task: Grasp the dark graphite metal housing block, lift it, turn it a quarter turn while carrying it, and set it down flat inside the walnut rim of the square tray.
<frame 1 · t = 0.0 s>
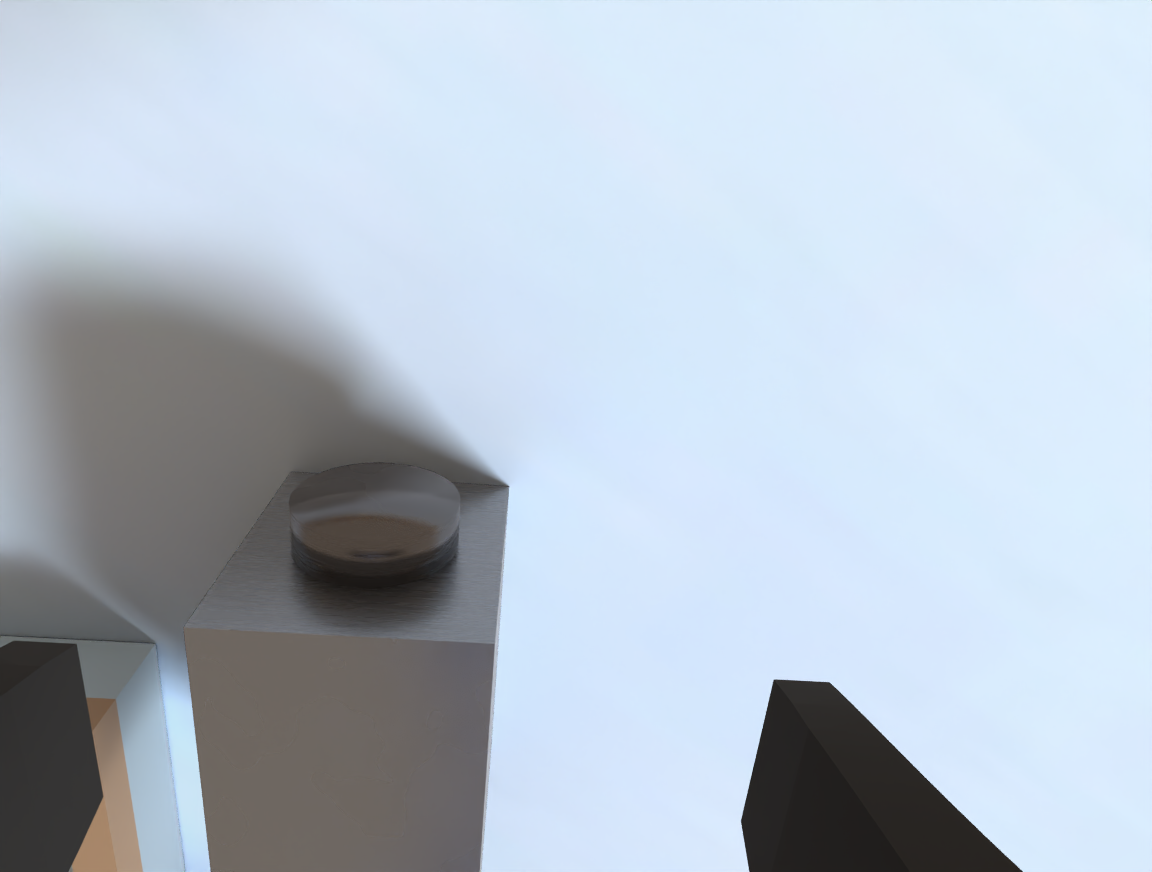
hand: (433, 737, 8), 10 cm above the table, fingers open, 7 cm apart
housing: (400, 620, 20), on the table
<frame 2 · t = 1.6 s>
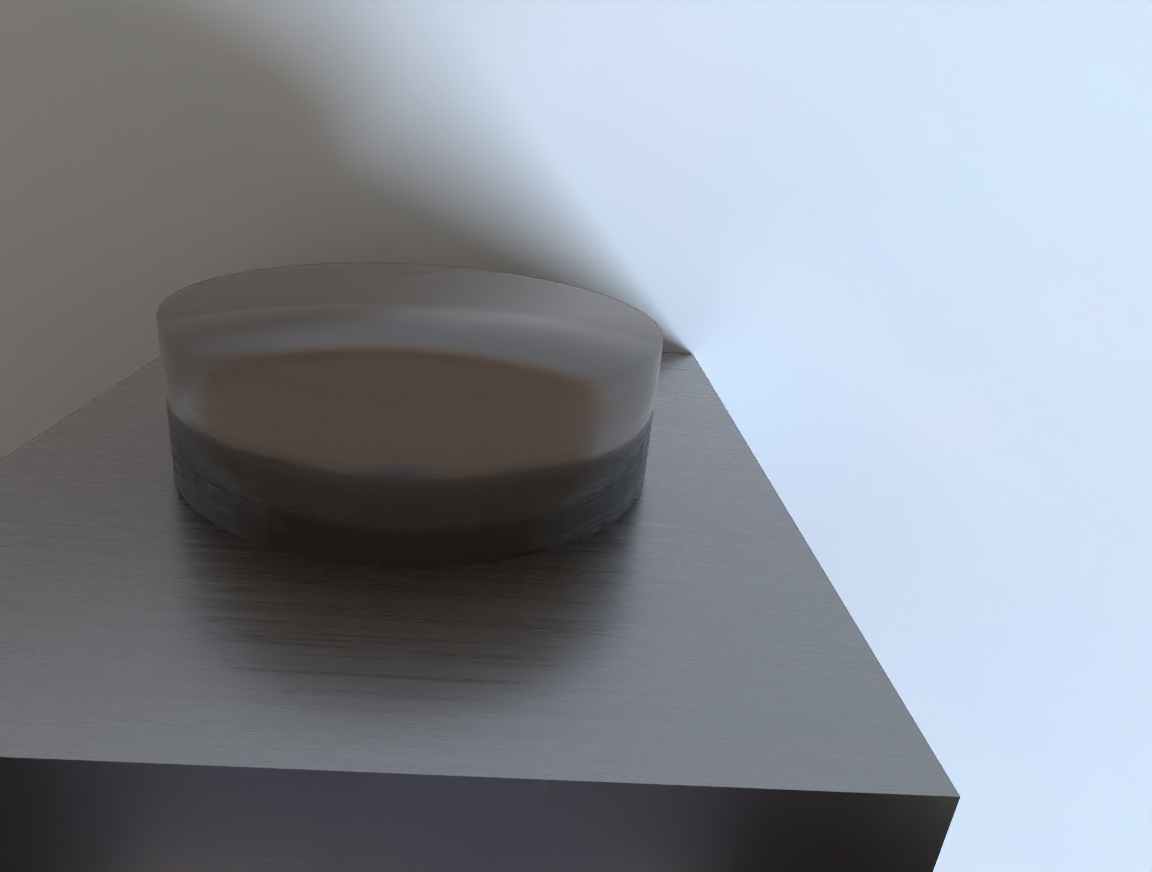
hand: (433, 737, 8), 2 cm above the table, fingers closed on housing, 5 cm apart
housing: (449, 644, 10), on the table, touching gripper
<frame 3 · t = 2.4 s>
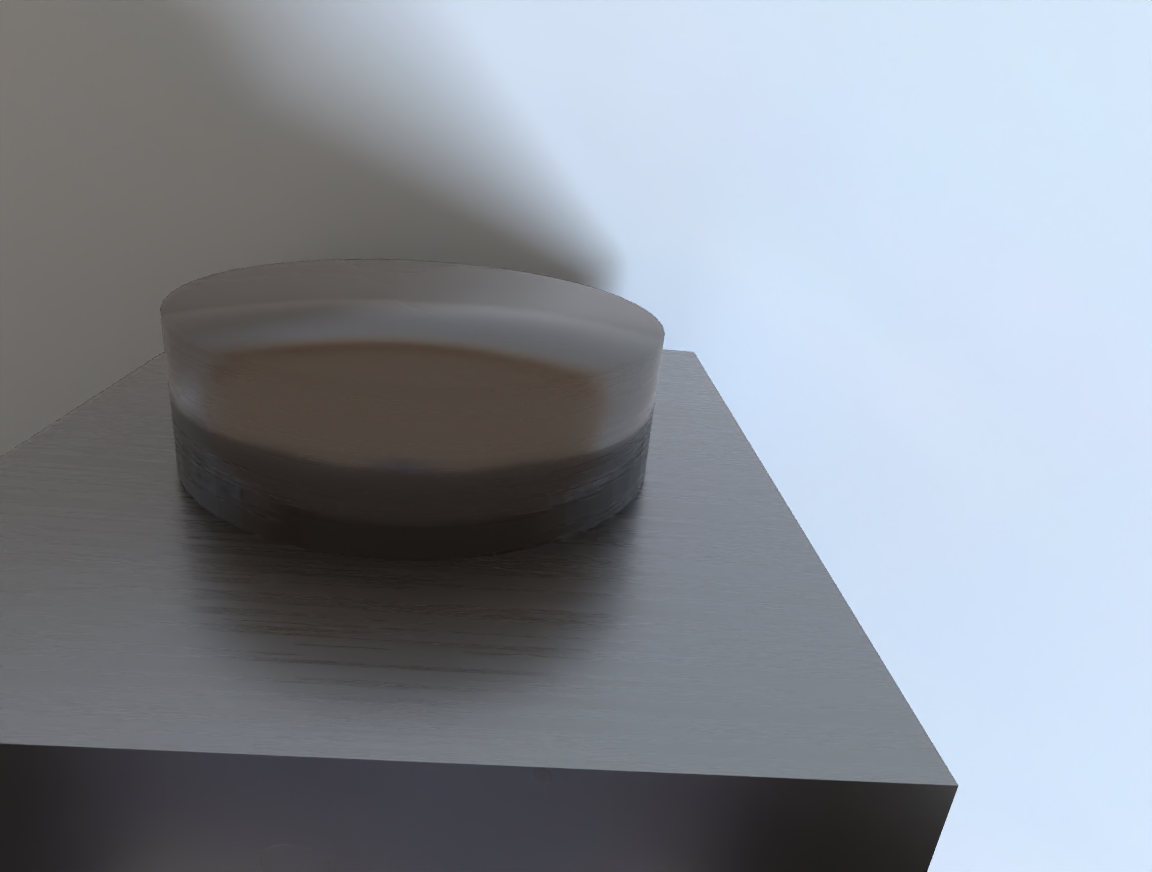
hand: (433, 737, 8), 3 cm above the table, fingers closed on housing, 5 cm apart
housing: (450, 641, 10), point 1 cm above the table, touching gripper
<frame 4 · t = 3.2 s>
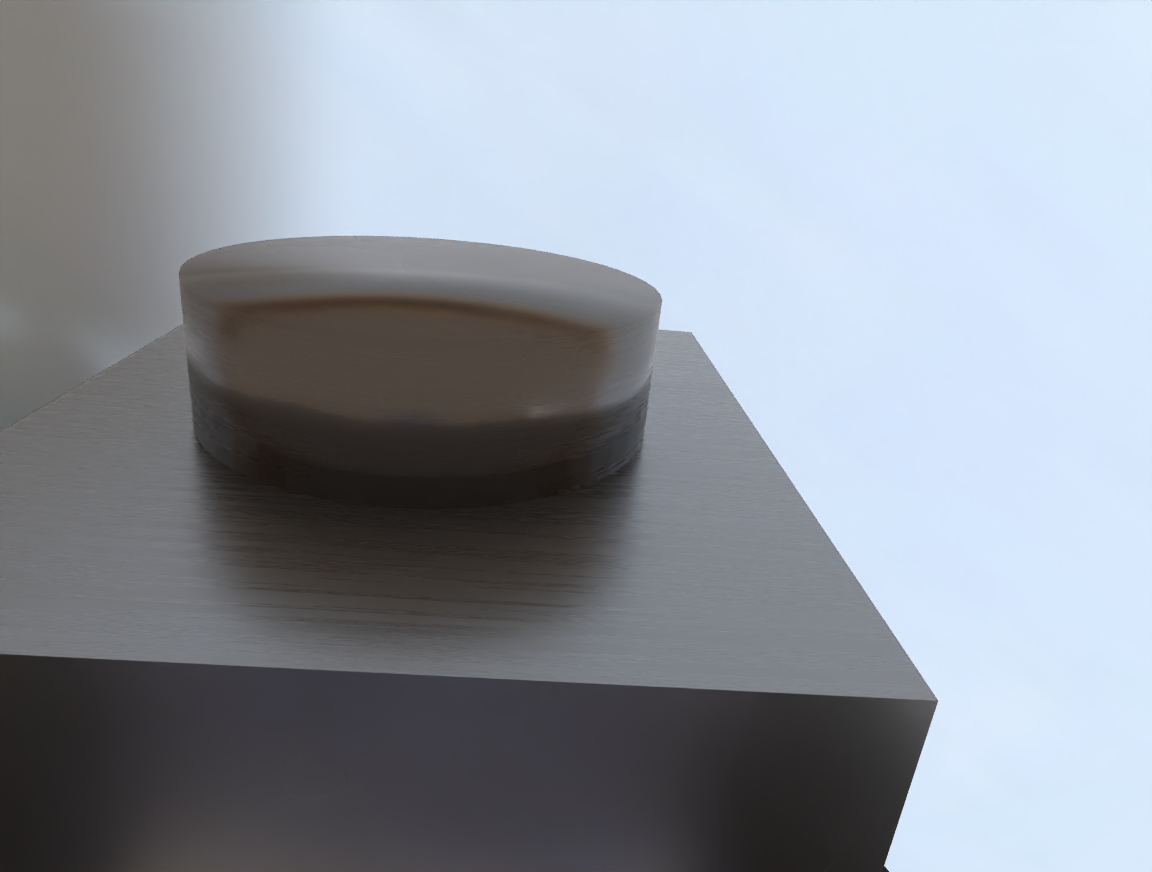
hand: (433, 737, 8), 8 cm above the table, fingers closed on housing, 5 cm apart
housing: (453, 619, 10), point 6 cm above the table, touching gripper
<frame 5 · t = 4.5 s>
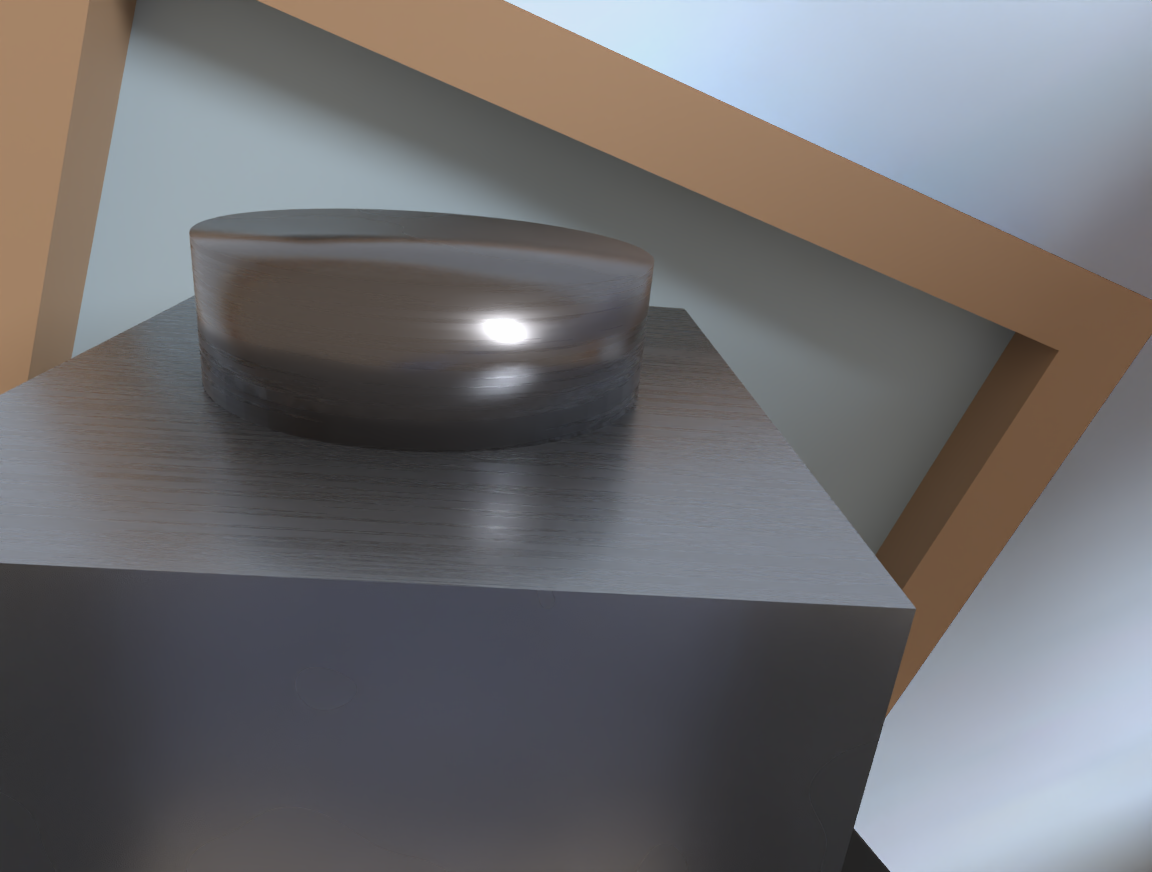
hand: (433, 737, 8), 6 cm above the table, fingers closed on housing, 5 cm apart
housing: (453, 596, 10), point 4 cm above the table, touching gripper
square tray: (479, 485, 14), on the table
when the fingers open (5 cm above the table, at t = 5.1 s): housing stays where it is, resting on square tray.
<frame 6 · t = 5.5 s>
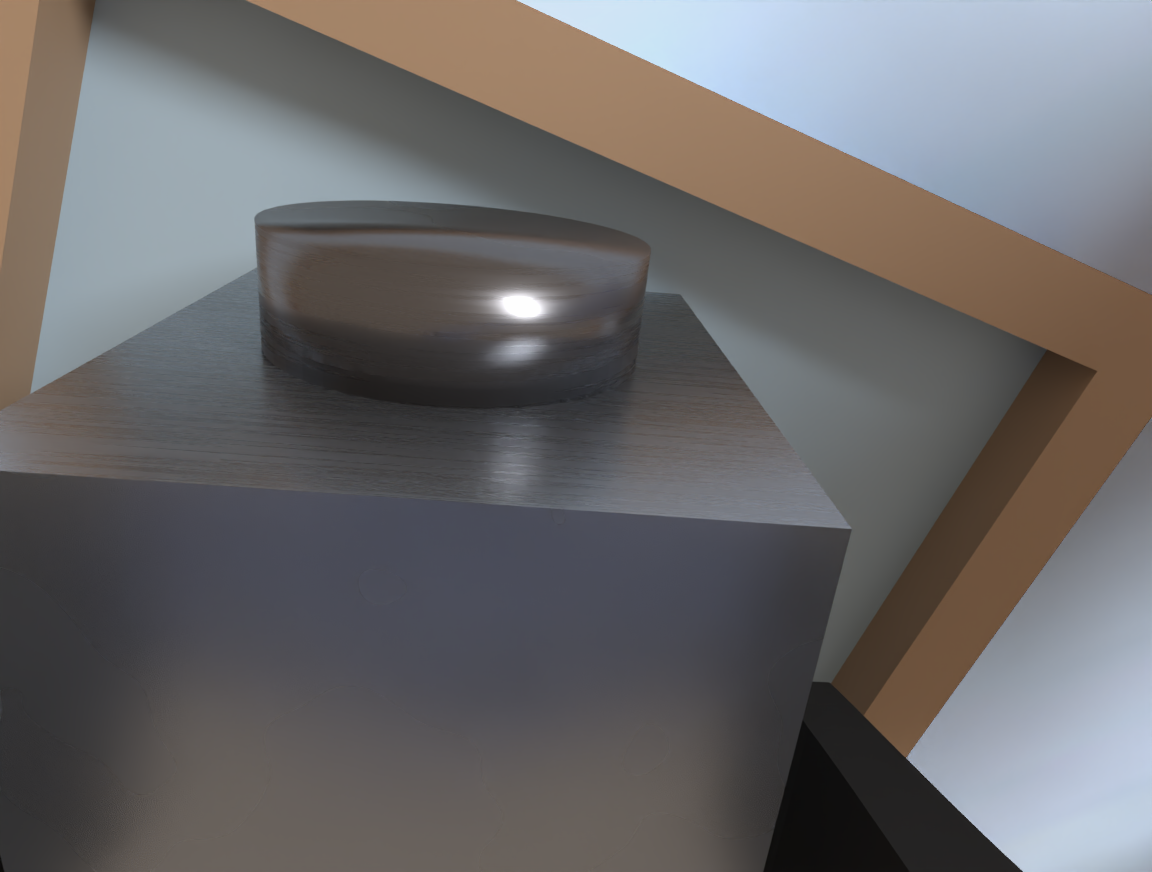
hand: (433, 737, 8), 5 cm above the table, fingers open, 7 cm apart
housing: (466, 557, 11), point 2 cm above the table, touching square tray
square tray: (473, 508, 13), on the table
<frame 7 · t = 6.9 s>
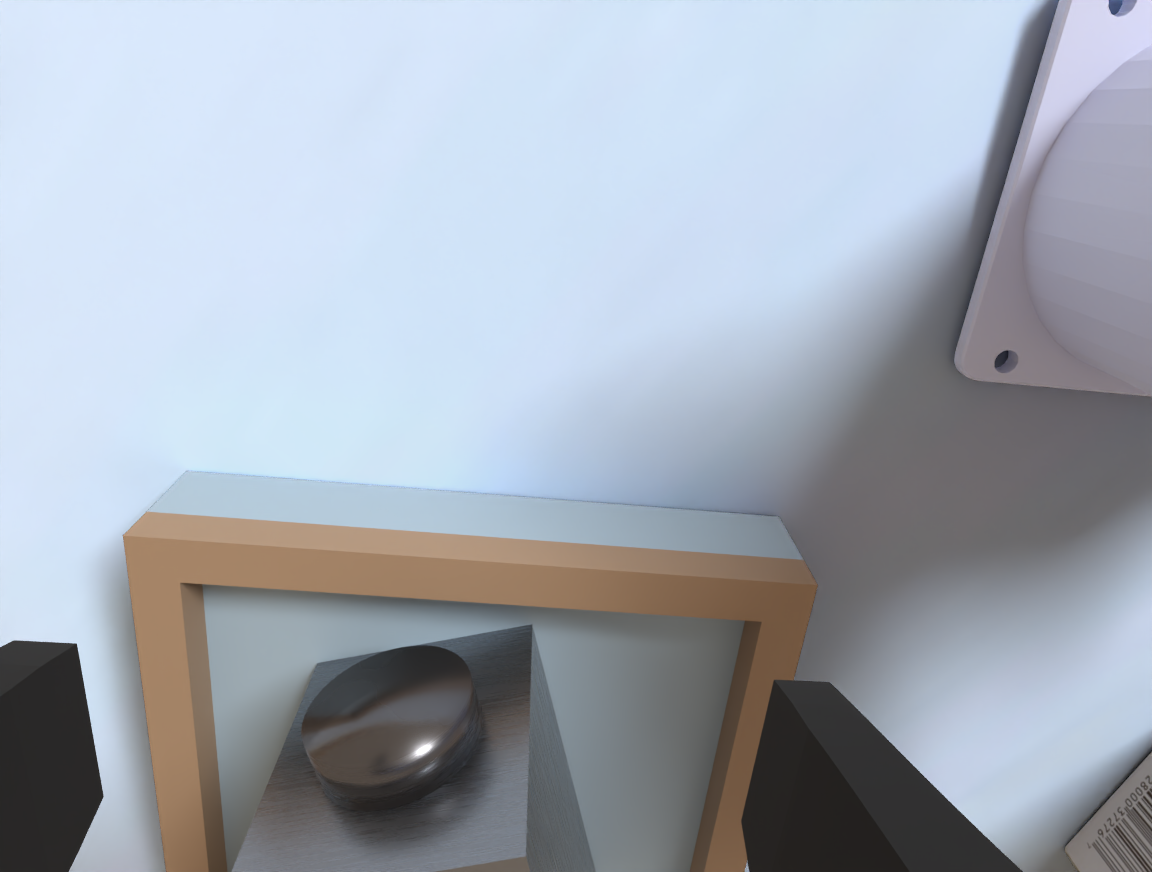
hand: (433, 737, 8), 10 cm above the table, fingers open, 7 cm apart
housing: (466, 774, 20), point 2 cm above the table, touching square tray
square tray: (474, 725, 21), on the table
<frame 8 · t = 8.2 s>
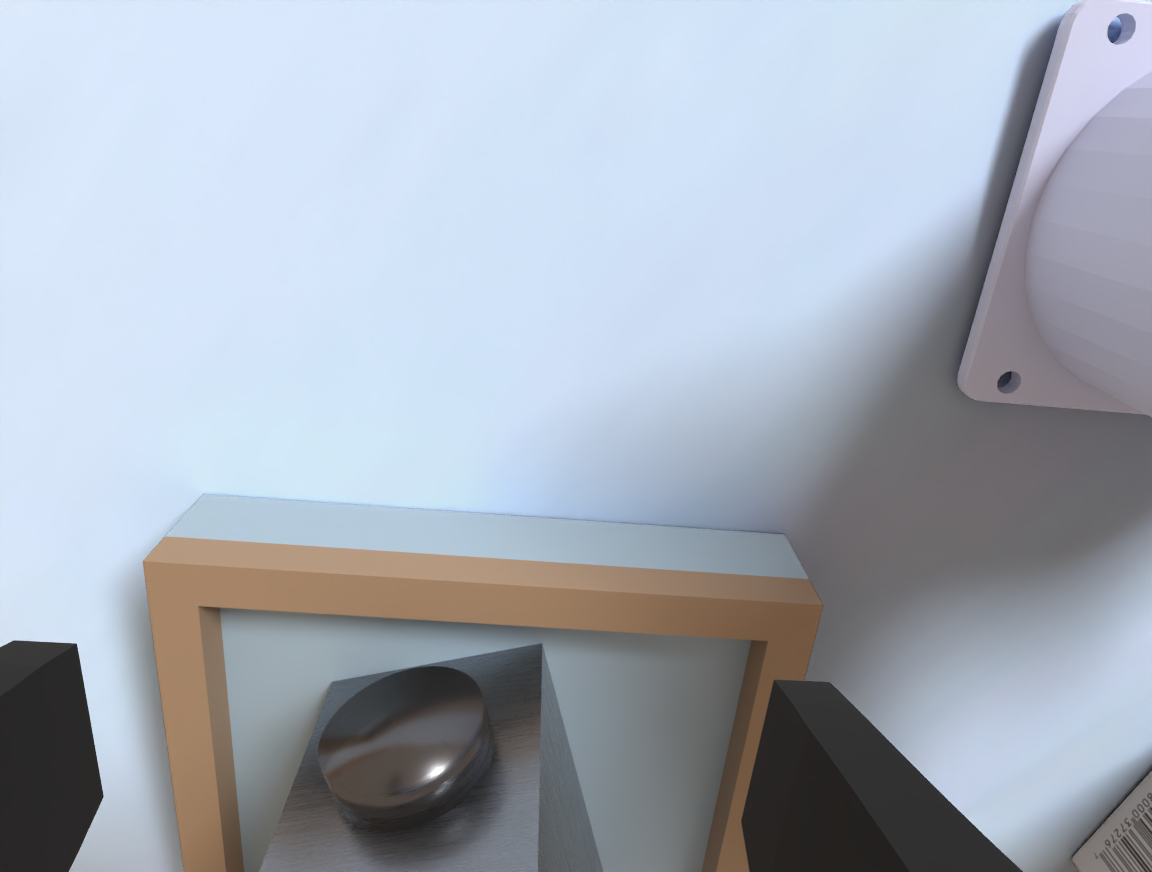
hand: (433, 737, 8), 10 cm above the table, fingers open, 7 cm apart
housing: (478, 789, 20), point 2 cm above the table, touching square tray
square tray: (486, 739, 22), on the table
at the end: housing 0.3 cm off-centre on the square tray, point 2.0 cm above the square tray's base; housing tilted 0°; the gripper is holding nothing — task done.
